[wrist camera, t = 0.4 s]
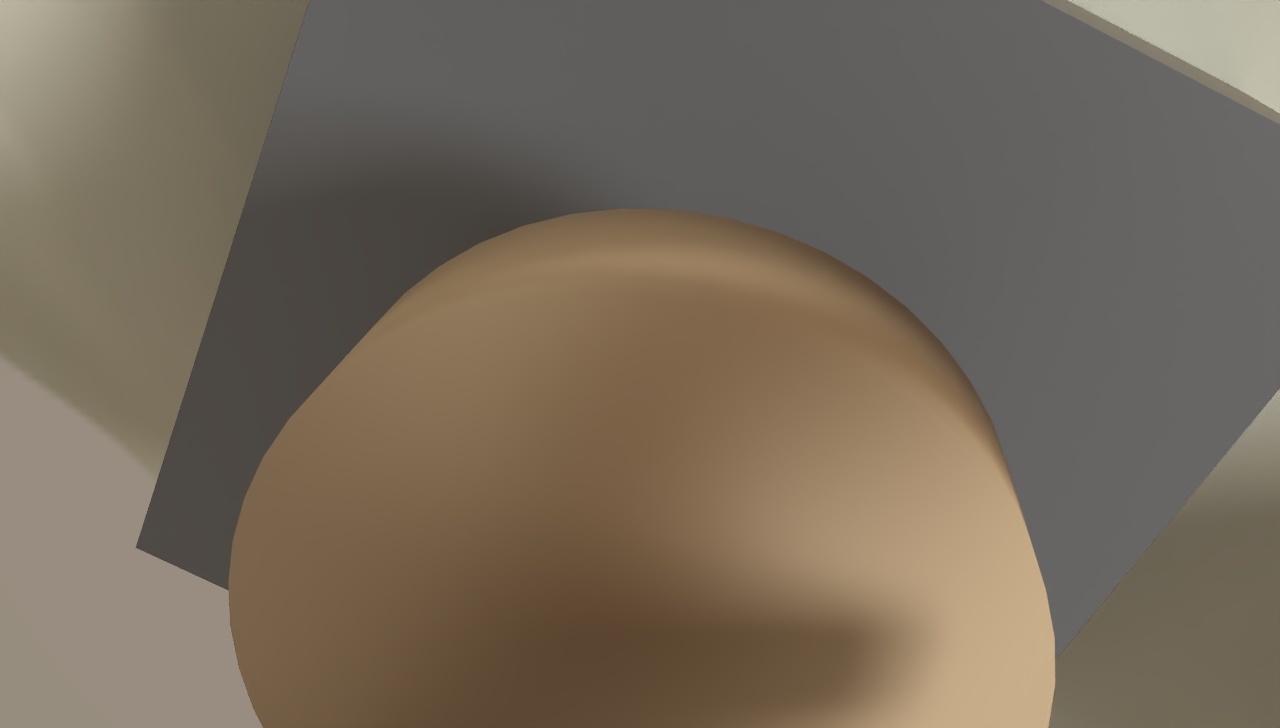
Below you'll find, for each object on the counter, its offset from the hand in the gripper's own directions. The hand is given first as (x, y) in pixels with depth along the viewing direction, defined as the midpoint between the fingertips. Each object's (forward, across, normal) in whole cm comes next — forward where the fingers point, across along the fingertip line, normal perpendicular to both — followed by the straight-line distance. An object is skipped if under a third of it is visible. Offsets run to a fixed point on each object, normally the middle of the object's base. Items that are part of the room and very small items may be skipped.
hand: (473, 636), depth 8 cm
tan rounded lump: (+7, -1, +1) cm, 8 cm away
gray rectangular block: (+13, -1, +1) cm, 13 cm away
